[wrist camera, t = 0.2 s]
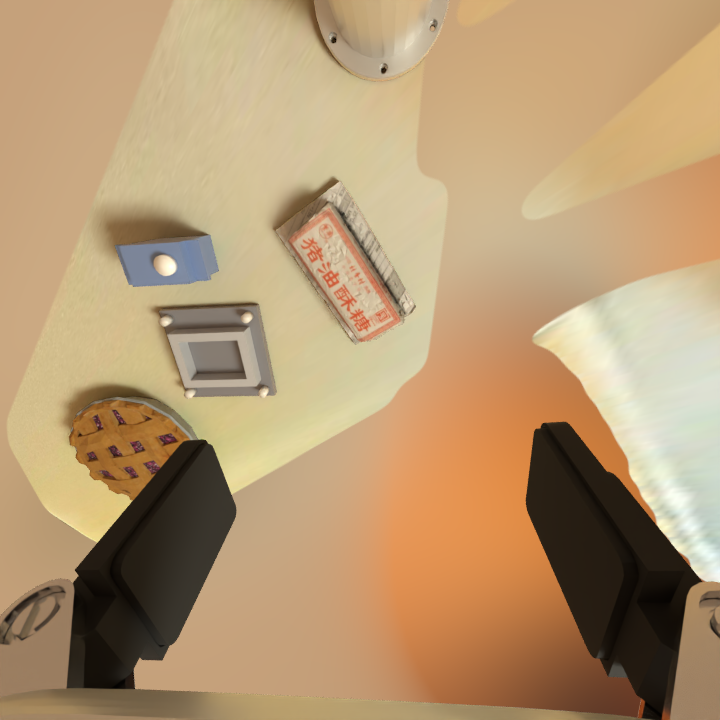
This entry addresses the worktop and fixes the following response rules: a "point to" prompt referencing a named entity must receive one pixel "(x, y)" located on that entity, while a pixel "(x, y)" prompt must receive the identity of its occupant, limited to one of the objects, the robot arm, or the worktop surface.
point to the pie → (127, 440)
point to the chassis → (220, 350)
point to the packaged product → (347, 265)
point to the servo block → (168, 260)
